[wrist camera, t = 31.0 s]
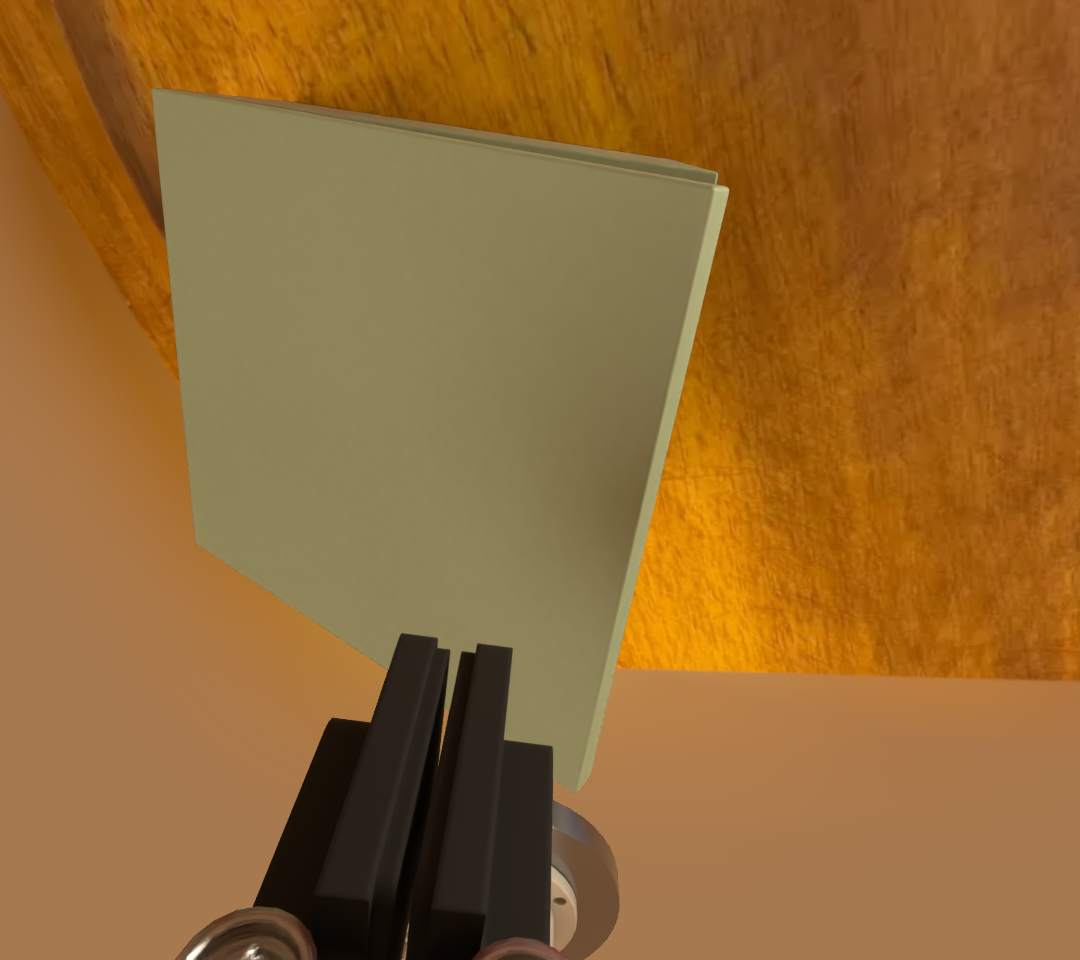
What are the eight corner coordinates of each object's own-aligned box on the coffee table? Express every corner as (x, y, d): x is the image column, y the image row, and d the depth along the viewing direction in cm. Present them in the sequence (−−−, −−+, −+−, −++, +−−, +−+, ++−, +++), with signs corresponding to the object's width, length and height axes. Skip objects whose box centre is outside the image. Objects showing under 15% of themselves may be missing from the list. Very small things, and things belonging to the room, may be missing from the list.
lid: (731, 187, 12) (715, 186, 12) (590, 776, 19) (575, 796, 18) (177, 90, 20) (149, 87, 19) (214, 535, 26) (194, 543, 26)
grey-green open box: (672, 159, 29) (719, 172, 20) (609, 474, 36) (623, 588, 27) (293, 101, 29) (172, 89, 20) (299, 432, 35) (210, 533, 26)
